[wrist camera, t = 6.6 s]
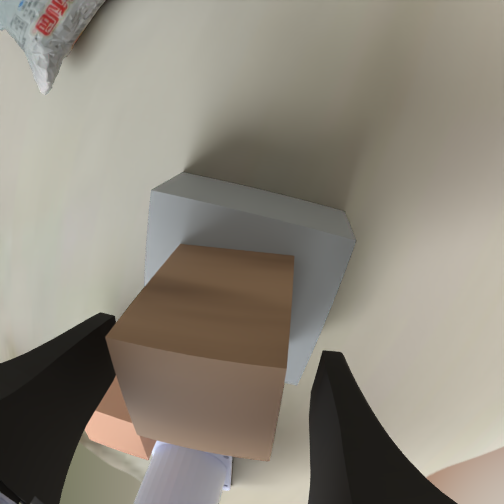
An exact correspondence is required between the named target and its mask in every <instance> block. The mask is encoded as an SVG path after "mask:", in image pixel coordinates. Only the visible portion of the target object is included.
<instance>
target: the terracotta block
mask: <svg viewBox="0 0 504 504" xmlns="http://www.w3.org/2000/svg"><path fill="white" fill-rule="evenodd" d="M85 431H86V433H87V434H88V436H89V438H90V440H92V441H95V442H97V443H100V444H103V445H105V446H108V447H110V448H113V449H116V450H119V451H122V452H125V453H127V454H130V455H133V456H137V457H140V458H143V459H146V460H149V458H150V455H151V453H152V450H153V448H154V446H155V443H156V441H157V440H153V439H150V438H146V437H143V436H139V435H137V433H136V431H135V428H134V425H133V423H132V420H131V417H130V415H129V412H128V409H127V406H126V404H125V401H124V398H123V395H122V392H121V389H120V386H119V383H118V379H117V376H115V378H114V381H113V382H112V384H111V386H110V387H109V389H108V391H107V392H106V394H105V396H104V397H103V399H102V400H101V402H100V404H99V405H98V407H97V409H96V410H95V412H94V414H93V415H92V417H91V419H90V420H89V422H88V424H87V425H86V427H85Z"/></svg>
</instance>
